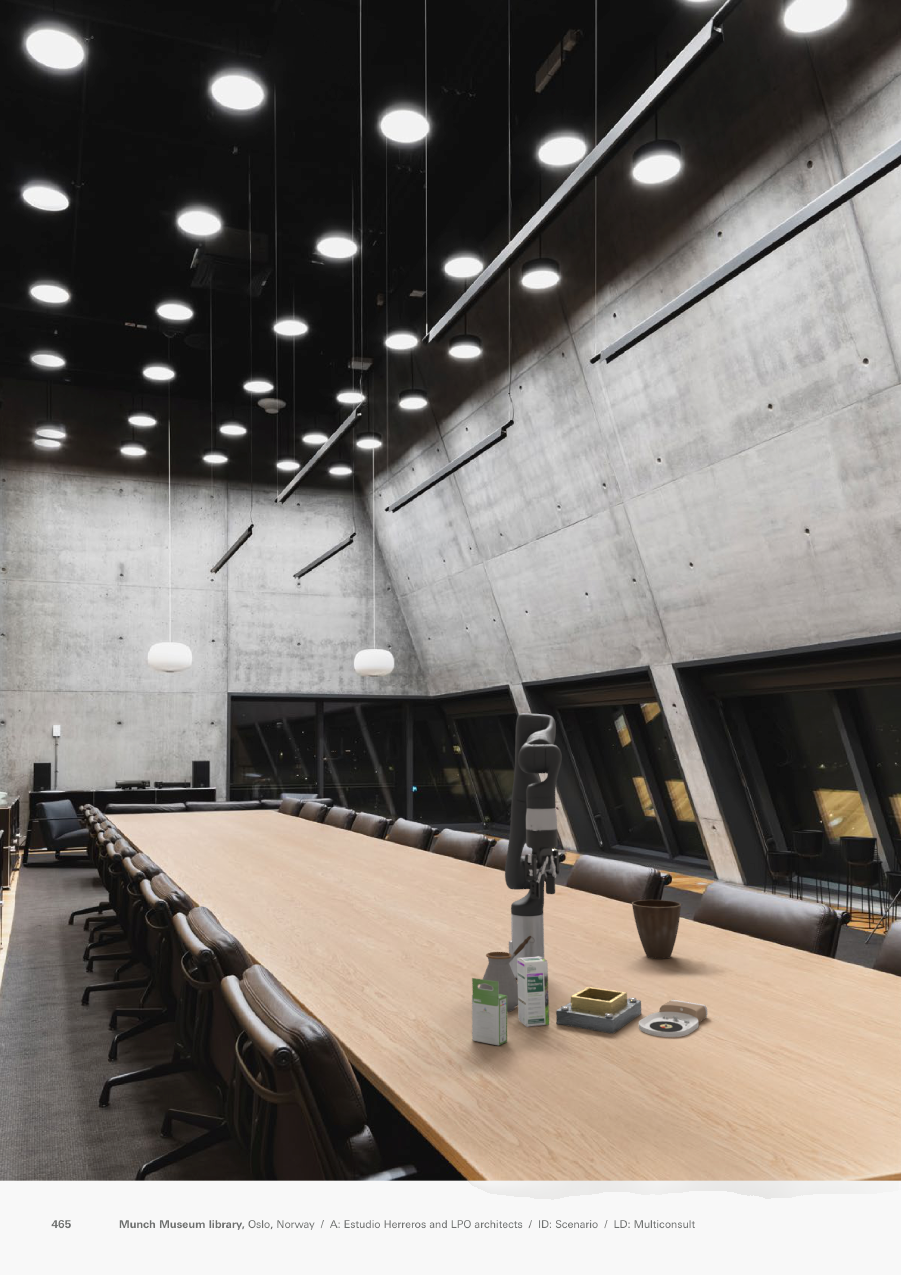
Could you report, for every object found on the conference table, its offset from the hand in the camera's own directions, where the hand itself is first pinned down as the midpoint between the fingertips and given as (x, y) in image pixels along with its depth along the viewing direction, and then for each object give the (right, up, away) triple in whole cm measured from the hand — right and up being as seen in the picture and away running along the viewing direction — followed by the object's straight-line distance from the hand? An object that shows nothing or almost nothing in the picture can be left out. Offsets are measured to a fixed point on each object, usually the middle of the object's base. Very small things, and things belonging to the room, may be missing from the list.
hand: (543, 896), depth 210 cm
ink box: (-14, -27, -18) cm, 35 cm away
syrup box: (-3, -28, -5) cm, 29 cm away
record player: (+29, -28, -7) cm, 41 cm away
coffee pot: (-7, -31, +11) cm, 33 cm away
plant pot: (+42, -37, +62) cm, 84 cm away
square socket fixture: (+13, -29, -2) cm, 31 cm away
